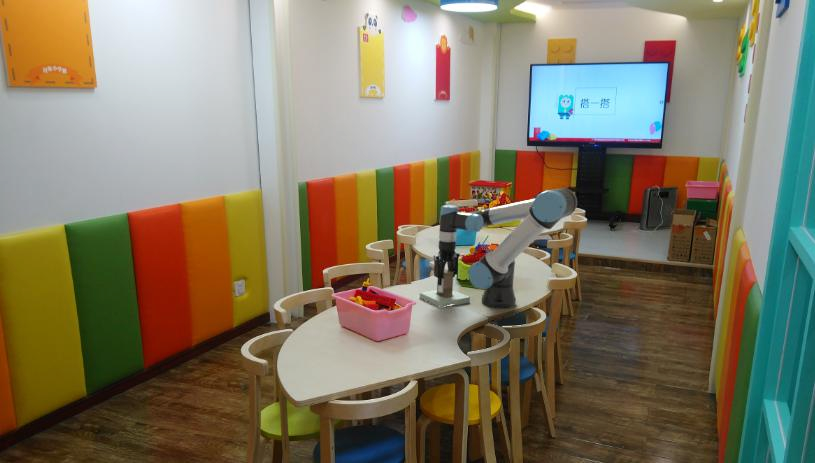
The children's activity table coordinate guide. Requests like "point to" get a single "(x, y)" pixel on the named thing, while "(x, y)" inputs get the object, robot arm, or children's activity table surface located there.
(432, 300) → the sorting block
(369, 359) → the children's activity table surface
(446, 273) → the walnut peg
